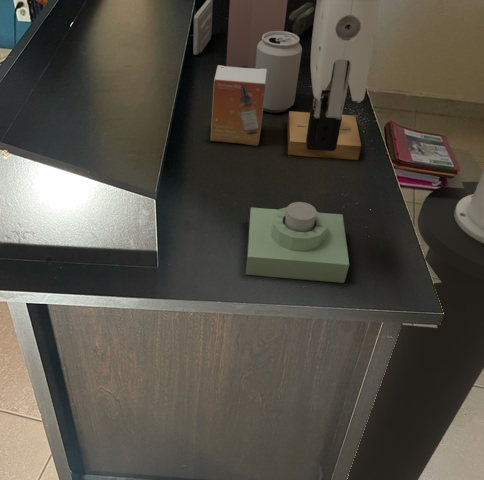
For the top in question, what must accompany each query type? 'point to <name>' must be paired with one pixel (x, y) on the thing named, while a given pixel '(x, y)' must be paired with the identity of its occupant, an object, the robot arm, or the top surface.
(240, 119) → the small box
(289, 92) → the can
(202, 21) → the cassette
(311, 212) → the button
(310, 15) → the dark ridged elongated shape
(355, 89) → the robot arm
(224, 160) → the top surface
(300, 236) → the green push button box
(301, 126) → the panel
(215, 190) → the top surface
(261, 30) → the greeting card
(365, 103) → the top surface
